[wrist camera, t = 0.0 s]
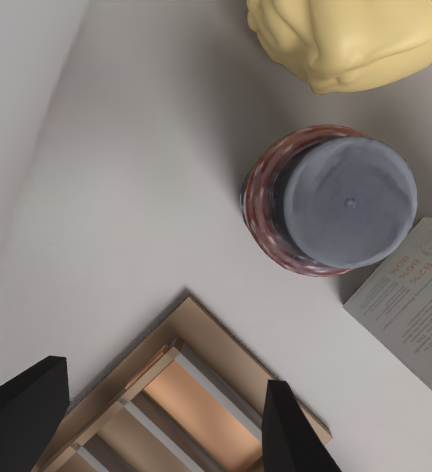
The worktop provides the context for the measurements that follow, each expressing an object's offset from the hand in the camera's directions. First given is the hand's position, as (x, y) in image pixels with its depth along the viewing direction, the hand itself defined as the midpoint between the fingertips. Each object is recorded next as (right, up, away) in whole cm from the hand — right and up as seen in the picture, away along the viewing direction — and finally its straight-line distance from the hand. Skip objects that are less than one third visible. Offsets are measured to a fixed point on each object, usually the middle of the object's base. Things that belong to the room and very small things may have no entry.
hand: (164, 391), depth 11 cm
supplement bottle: (+6, +8, +10) cm, 14 cm away
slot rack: (-2, -11, +12) cm, 16 cm away
